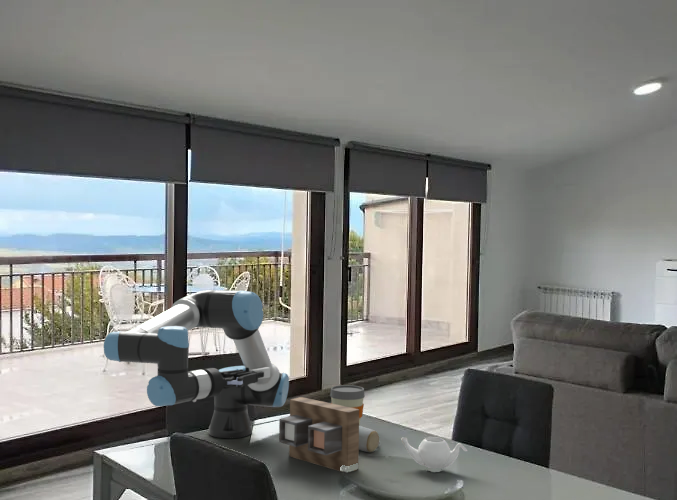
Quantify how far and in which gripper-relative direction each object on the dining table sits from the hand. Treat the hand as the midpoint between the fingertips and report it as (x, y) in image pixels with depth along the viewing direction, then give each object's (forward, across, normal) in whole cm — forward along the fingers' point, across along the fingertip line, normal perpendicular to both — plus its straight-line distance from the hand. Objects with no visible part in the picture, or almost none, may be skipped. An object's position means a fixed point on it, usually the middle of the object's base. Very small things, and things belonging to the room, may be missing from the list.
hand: (268, 372), depth 199 cm
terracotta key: (+14, +10, -22) cm, 28 cm away
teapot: (+37, +33, -30) cm, 58 cm away
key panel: (+16, +4, -30) cm, 34 cm away
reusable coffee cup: (+54, -15, -30) cm, 64 cm away
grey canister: (+40, +5, -30) cm, 51 cm away
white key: (+14, -2, -23) cm, 26 cm away
